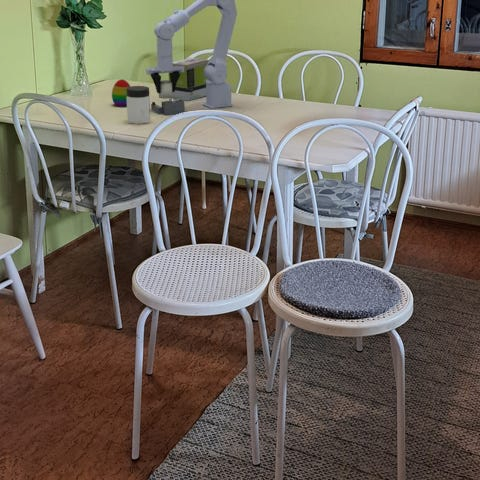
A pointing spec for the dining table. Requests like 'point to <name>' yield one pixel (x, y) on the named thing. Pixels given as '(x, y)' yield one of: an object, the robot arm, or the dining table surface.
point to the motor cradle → (169, 107)
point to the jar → (138, 104)
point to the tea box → (190, 79)
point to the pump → (165, 89)
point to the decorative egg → (120, 93)
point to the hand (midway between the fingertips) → (165, 92)
